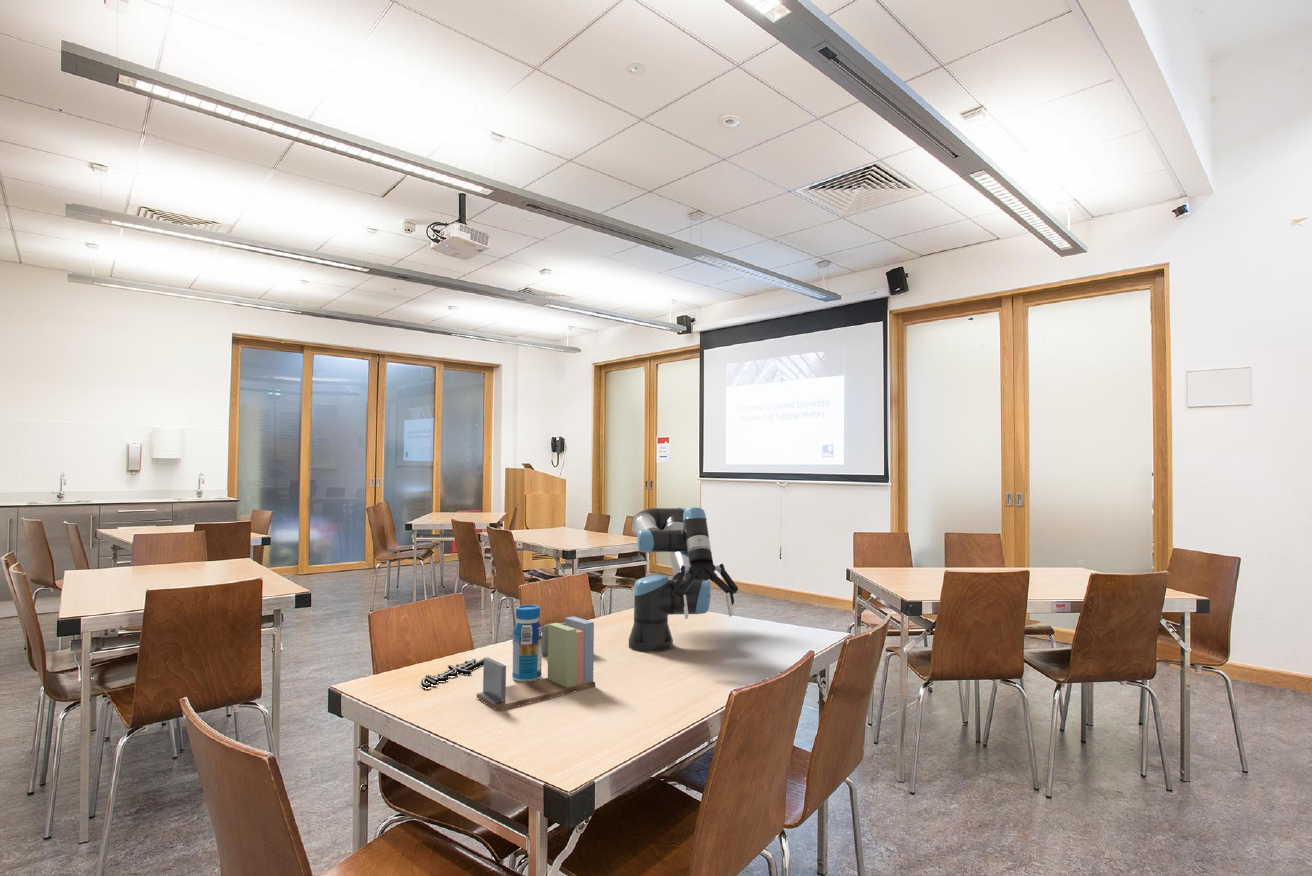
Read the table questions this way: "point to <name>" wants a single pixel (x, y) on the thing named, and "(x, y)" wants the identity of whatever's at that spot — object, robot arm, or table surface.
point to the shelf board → (534, 692)
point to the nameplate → (452, 672)
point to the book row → (571, 652)
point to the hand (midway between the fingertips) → (709, 616)
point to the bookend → (494, 681)
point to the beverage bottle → (527, 644)
